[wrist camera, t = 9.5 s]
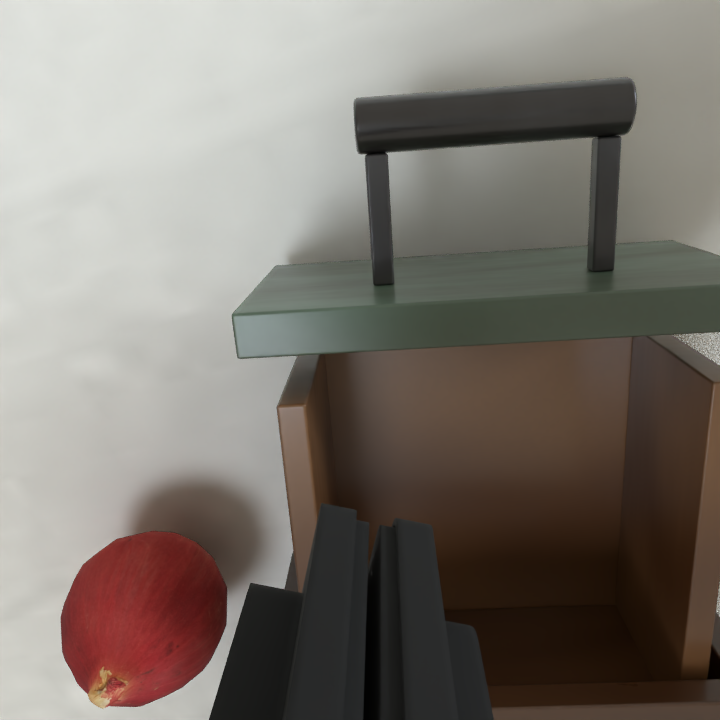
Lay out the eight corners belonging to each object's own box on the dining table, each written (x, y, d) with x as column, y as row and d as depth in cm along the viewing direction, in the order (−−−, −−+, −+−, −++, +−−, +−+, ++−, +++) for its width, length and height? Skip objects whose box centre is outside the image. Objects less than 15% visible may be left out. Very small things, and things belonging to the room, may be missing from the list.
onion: (243, 615, 28) (192, 786, 21) (113, 603, 28) (15, 770, 21) (246, 499, 26) (192, 640, 19) (107, 486, 27) (-3, 623, 19)
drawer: (258, 115, 21) (201, 101, 14) (686, 82, 20) (832, 52, 14) (313, 610, 27) (291, 759, 20) (643, 599, 26) (730, 749, 20)
